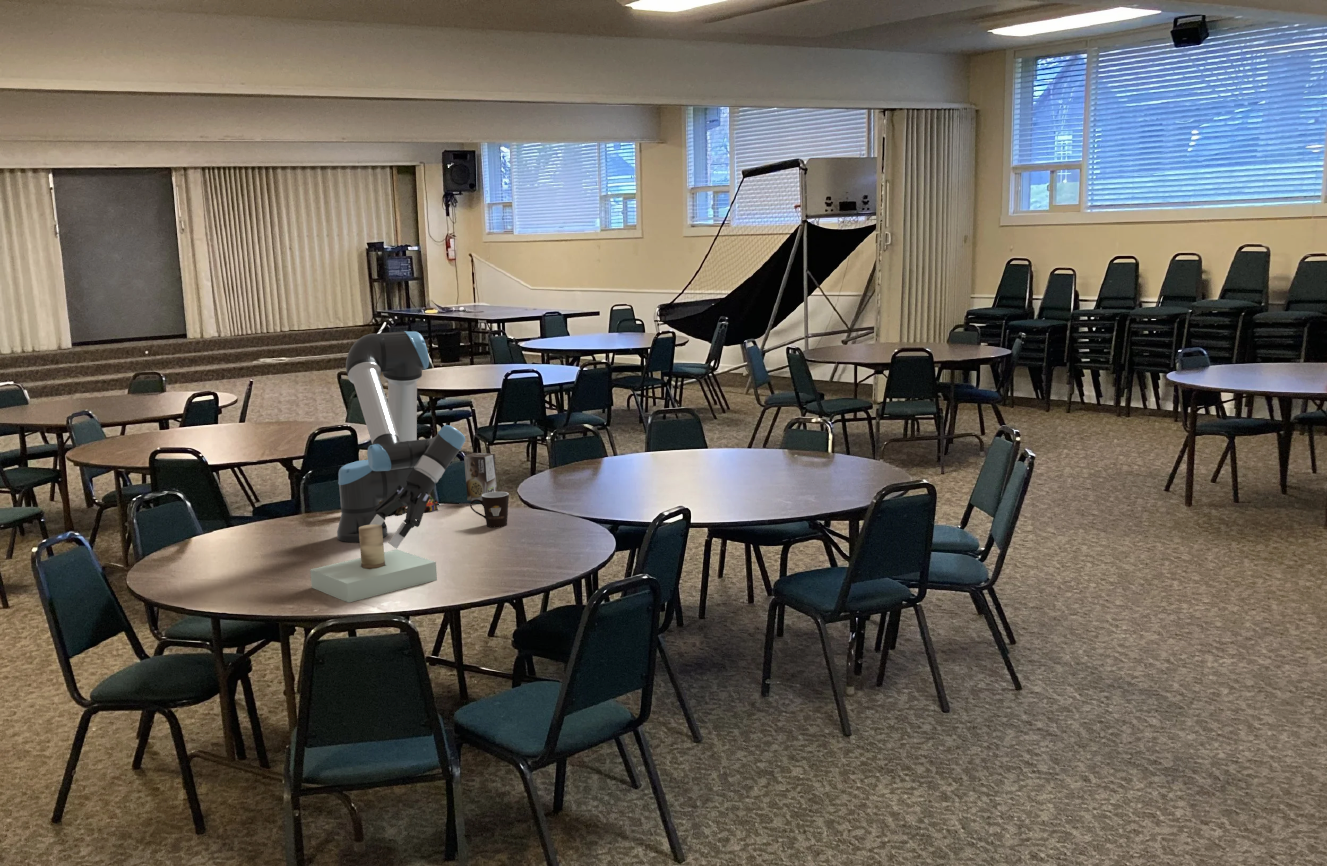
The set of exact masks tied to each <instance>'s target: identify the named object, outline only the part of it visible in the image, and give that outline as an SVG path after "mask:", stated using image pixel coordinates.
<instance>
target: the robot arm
mask: <svg viewBox="0 0 1327 866" xmlns="http://www.w3.org/2000/svg"><path fill="white" fill-rule="evenodd" d="M429 358H430V357H429V352H428V347H427V345H426V341H425V339H424V337H423V335H422V334H421V333H419V332H418V331H406V330H404V331H395V332H382V333H379V332H378V333H369V334H365V335H363V336H361V337H360V338H358V339H357V340H356V341H355V342H354V343H353V344H352V345H351V347H350V348H349V351H348V354H347V356H346V361H345V371H346V375H347V379H348V381H350V383H352V384H353V385H354V389H355V391H356V397H357V398H358V402H359V405H360V409H361V412H362V415H363V418H364V421H365V425H366V428H367V432H368V434H369V438H370V442H371V444H370V445H368V447H367V459H363V460H362V459H361V460H356V461H354V462H350V463H349V462H348V463H346V464H345V465H342V466H341V467H340V468H339V470H338V482H337V484H338V488H339V489H338V490H339V497H340V498H339V500H340V511H341V514H340V519H339V523H338V527H337V530H336V531H337V532H336V533H337V534H336V535H337V537H336V538H337V540H338V541H340V542H346V543H360V539H359V527H361V526H364V525H372V524H378V525H382V532H383V538H385V537H387V536H388V527H387V524H386V522H385V521H386V517H389V516H388V515H389V514H391V513H392V512H394V511H395V510H396V509H398V508H399V507H403V506H407V507H406V508H407V513H405V514H406V515H405V519H404V520H403V521H402V522H401V523H400V525H399V526H398V528H397V529H396V531H395V532H394V534H393V535H392V537H391V538H390V539H389V541H388V544H389V545H390V546H392V547H393V548H394V549H395V550H398V548H399V546H400V545H401V543H402V542H403V540H404V539H405V538H406V536H407V535H408V533H409V532H410V531H411V529H413V528H414V527H416V528H418V527H420V525H421V523H422V519H423V516H424V513H425V512H424V511H425V508H426V505H427V503H428V501H429V499H430V497H431V496H430V494H431V492H432V491H433V489H434V488H435V487H436V484H437V483H438V482H439V480H440V479H442V477H443V475H444V474H445V472H446V470H447V469H448V467H449V466H450V464H451V463H452V462H453V460H454V459H455V458H456V456H457V455H458V453H459V452H460V451H461V450H462V447H463V446H464V444H465V443H466V436H465V435H464V434H463V433H462V432H461V431H460V430H458V429H457V428H456V427H454V426H452V425H450V424H449V425H448V424H445V425H443V426H442V427H441V428H440V430H439V431H437V434H436V435H435V436H434V437H432V438H423V439H418V437H417V435H418V434H417V433H418V430H417V429H418V427H417V425H418V424H417V423H418V422H417V420H418V416H417V415H418V413H417V412H418V410H417V409H418V405H417V403H418V398H417V397H418V381H419V380H420V379H421V378H422V377H423V370H427V369H428V368H429V365H430V359H429ZM381 374H382V377H383V378H384V379H385V380H386V381H387V388H388V389H387V391H388V392H387V396H386V393H385V390H384V387H383V383H382V380H381V378H380V377H381ZM380 501H382V502H381V503H380V504H379V502H380Z"/></svg>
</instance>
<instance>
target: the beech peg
mask: <svg viewBox="0 0 1327 866" xmlns="http://www.w3.org/2000/svg"><path fill="white" fill-rule="evenodd" d="M359 539H360V542H359V550H360V551H359V552H360V558H361V566H362V568H365V569H374V568H380V567H383V566H385V559H384V552H385V548H384V537H383V532H382V525H378V524H372V525H364V526H361V527H359Z"/></svg>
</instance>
